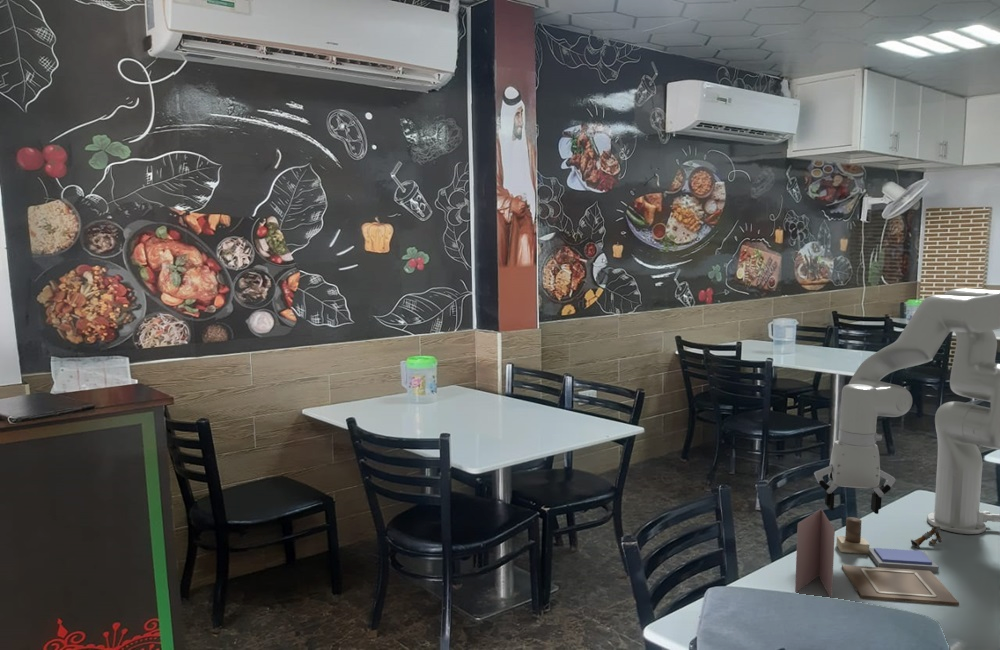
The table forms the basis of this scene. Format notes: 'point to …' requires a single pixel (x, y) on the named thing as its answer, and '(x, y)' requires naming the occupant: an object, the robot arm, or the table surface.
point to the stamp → (853, 538)
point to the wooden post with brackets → (927, 536)
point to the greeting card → (815, 551)
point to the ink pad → (902, 559)
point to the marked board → (898, 585)
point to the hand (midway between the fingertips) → (852, 510)
